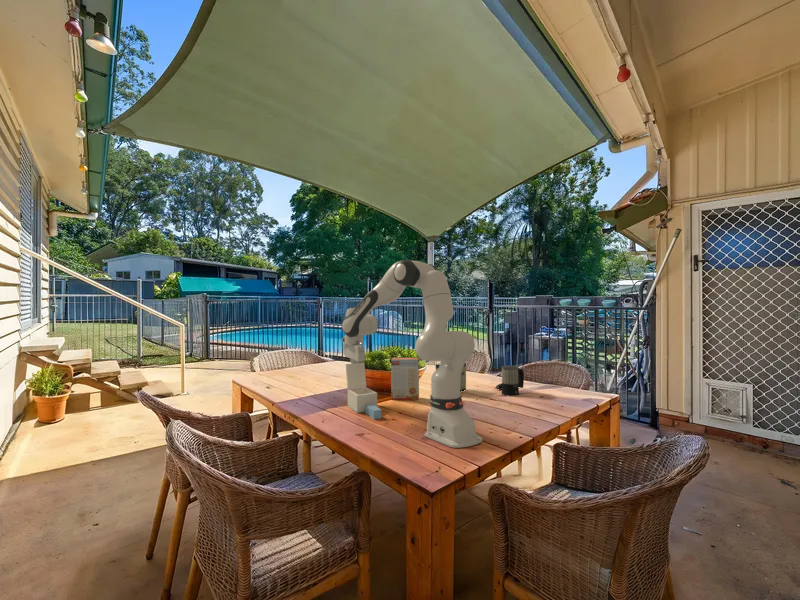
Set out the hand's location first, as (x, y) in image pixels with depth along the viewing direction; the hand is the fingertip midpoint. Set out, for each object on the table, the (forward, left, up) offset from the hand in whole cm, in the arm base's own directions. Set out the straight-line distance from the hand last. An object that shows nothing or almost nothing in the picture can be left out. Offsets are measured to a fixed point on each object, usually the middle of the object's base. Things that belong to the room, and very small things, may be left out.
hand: (353, 367), depth 187 cm
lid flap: (-3, 0, -3) cm, 5 cm away
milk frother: (-21, -81, -18) cm, 85 cm away
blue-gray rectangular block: (-23, 0, -18) cm, 29 cm away
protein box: (-6, -55, -18) cm, 58 cm away
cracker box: (-6, -26, -18) cm, 32 cm away
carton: (-11, 0, -17) cm, 20 cm away
